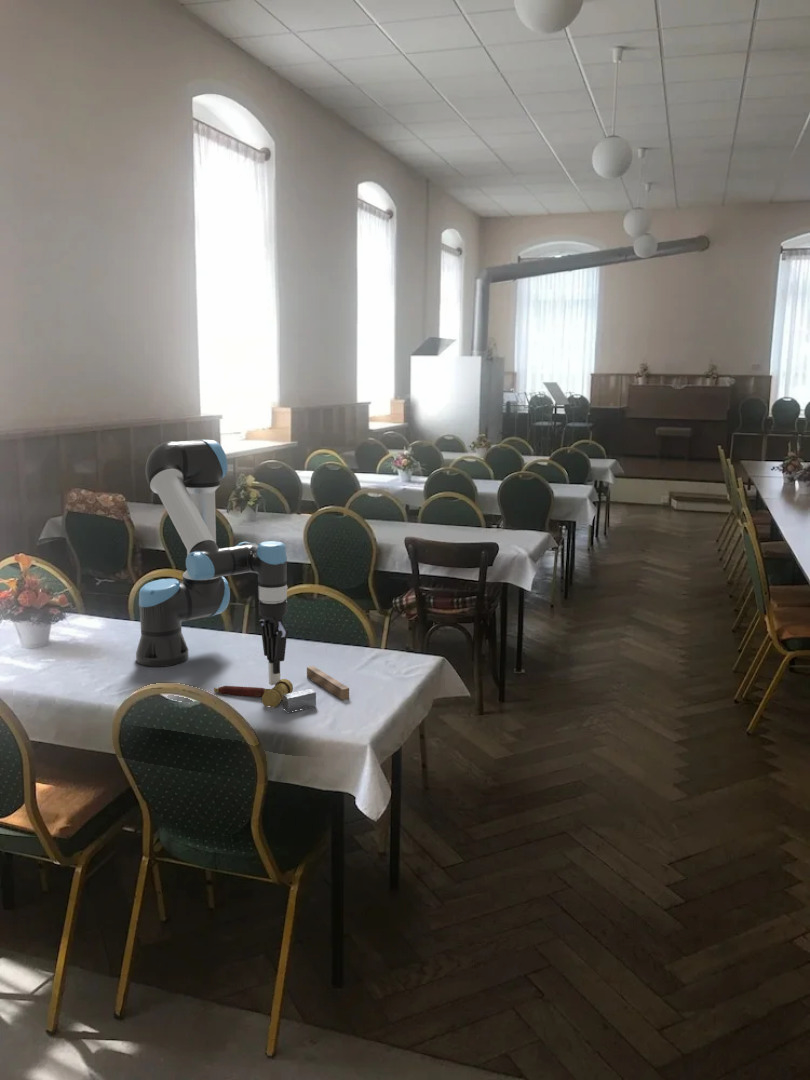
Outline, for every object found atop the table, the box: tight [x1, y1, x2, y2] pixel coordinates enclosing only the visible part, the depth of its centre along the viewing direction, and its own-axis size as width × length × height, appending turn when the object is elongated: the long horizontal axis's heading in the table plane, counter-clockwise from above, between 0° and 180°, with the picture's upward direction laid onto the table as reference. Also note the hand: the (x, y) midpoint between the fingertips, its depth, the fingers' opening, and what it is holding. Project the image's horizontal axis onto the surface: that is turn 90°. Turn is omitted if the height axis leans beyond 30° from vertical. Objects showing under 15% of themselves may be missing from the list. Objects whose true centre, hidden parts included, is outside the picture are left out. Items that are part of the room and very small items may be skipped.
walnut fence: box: [306, 665, 350, 701], centre depth 234 cm, size 20×2×3 cm, turn 35°
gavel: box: [213, 678, 294, 708], centre depth 227 cm, size 21×5×10 cm
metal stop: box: [282, 688, 317, 713], centre depth 220 cm, size 3×8×4 cm, turn 124°
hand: (274, 683), depth 232 cm, fingers closed
